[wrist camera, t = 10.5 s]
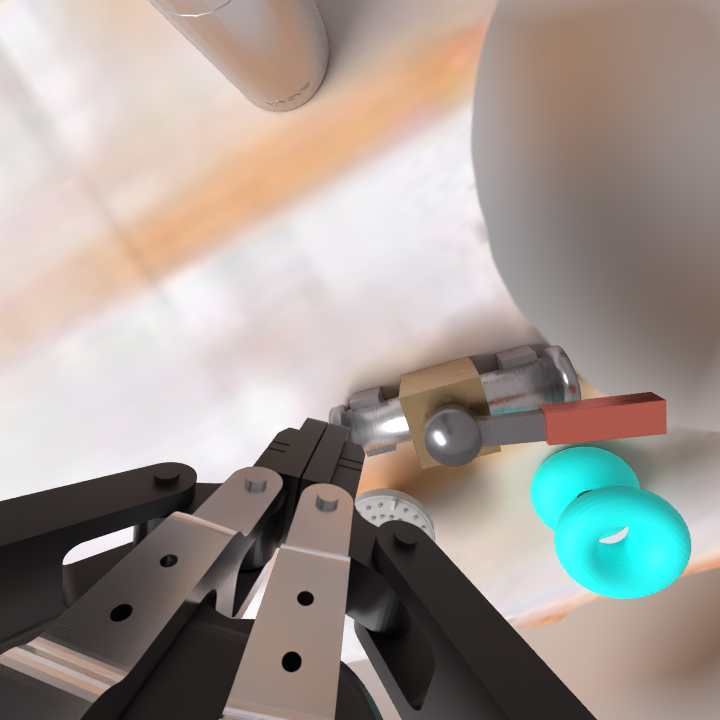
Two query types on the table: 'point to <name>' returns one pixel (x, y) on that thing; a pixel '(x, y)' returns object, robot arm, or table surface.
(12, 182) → the table surface
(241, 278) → the table surface
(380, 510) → the showerhead
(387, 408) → the valve body
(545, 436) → the lever
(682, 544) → the donuts
